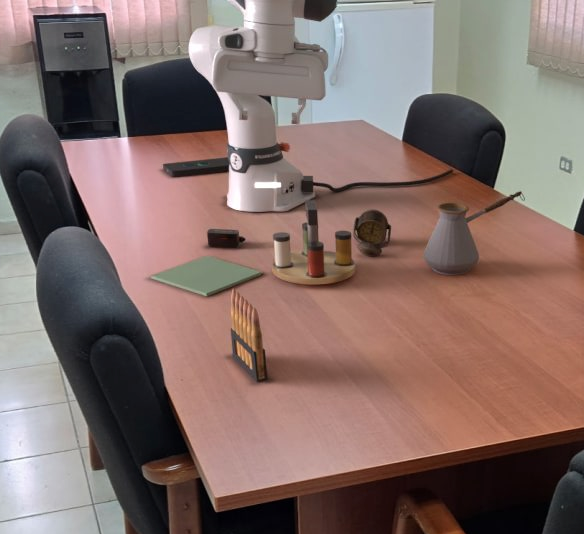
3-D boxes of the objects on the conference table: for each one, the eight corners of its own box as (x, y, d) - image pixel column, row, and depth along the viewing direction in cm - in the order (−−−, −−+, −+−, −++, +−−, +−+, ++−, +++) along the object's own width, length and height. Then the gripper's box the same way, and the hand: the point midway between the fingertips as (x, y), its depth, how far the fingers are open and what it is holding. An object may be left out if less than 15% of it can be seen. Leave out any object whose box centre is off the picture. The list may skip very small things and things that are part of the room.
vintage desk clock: (406, 217, 206) (366, 201, 207) (383, 228, 195) (340, 211, 196) (398, 248, 209) (358, 232, 211) (375, 261, 198) (333, 244, 200)
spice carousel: (309, 250, 199) (306, 188, 192) (371, 267, 191) (371, 203, 184) (255, 271, 187) (249, 206, 180) (319, 290, 179) (316, 223, 173)
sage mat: (207, 258, 195) (207, 255, 195) (262, 274, 188) (261, 271, 188) (151, 278, 184) (150, 275, 184) (206, 296, 177) (206, 293, 177)
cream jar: (282, 260, 189) (280, 231, 186) (294, 263, 188) (293, 234, 184) (271, 264, 187) (269, 235, 183) (284, 268, 185) (282, 238, 182)
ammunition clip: (232, 356, 156) (225, 287, 150) (243, 354, 157) (237, 285, 151) (256, 382, 148) (250, 310, 142) (267, 379, 149) (262, 308, 143)
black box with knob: (241, 249, 200) (240, 234, 199) (207, 247, 200) (206, 232, 199) (246, 242, 204) (244, 227, 203) (213, 240, 204) (211, 225, 203)
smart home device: (161, 163, 250) (234, 155, 259) (162, 169, 250) (234, 162, 260) (171, 170, 244) (245, 162, 253) (172, 177, 245) (246, 169, 254)
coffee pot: (434, 281, 189) (436, 206, 181) (415, 262, 198) (416, 190, 190) (530, 271, 196) (536, 198, 188) (507, 253, 205) (512, 183, 197)
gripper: (328, 43, 172) (326, 123, 178) (213, 32, 169) (215, 114, 175) (328, 47, 166) (326, 129, 173) (208, 36, 163) (211, 120, 170)
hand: (269, 121), depth 174 cm, fingers open, 8 cm apart
